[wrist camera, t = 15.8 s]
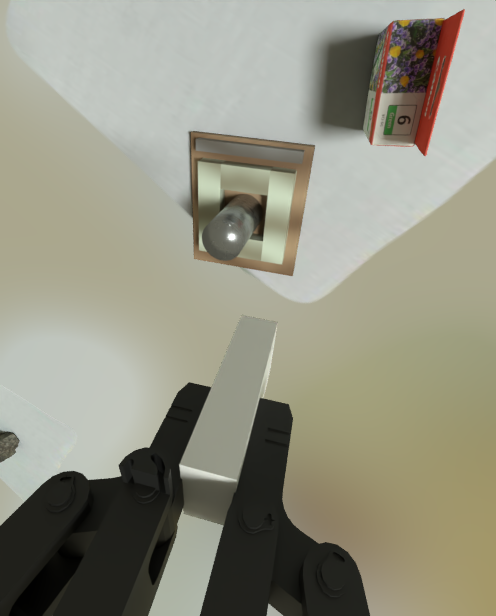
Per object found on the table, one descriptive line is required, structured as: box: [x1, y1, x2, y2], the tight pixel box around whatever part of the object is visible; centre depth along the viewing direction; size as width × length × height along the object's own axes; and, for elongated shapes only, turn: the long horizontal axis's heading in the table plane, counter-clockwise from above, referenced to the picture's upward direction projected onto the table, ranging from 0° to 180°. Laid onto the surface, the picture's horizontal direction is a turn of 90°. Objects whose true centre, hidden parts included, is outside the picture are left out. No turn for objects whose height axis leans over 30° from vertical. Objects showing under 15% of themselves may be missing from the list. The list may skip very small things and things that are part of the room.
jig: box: [191, 131, 315, 276], centre depth 41 cm, size 16×14×3 cm
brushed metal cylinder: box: [202, 194, 263, 261], centre depth 38 cm, size 4×4×9 cm
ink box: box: [363, 9, 465, 156], centre depth 27 cm, size 4×8×15 cm, turn 1°
